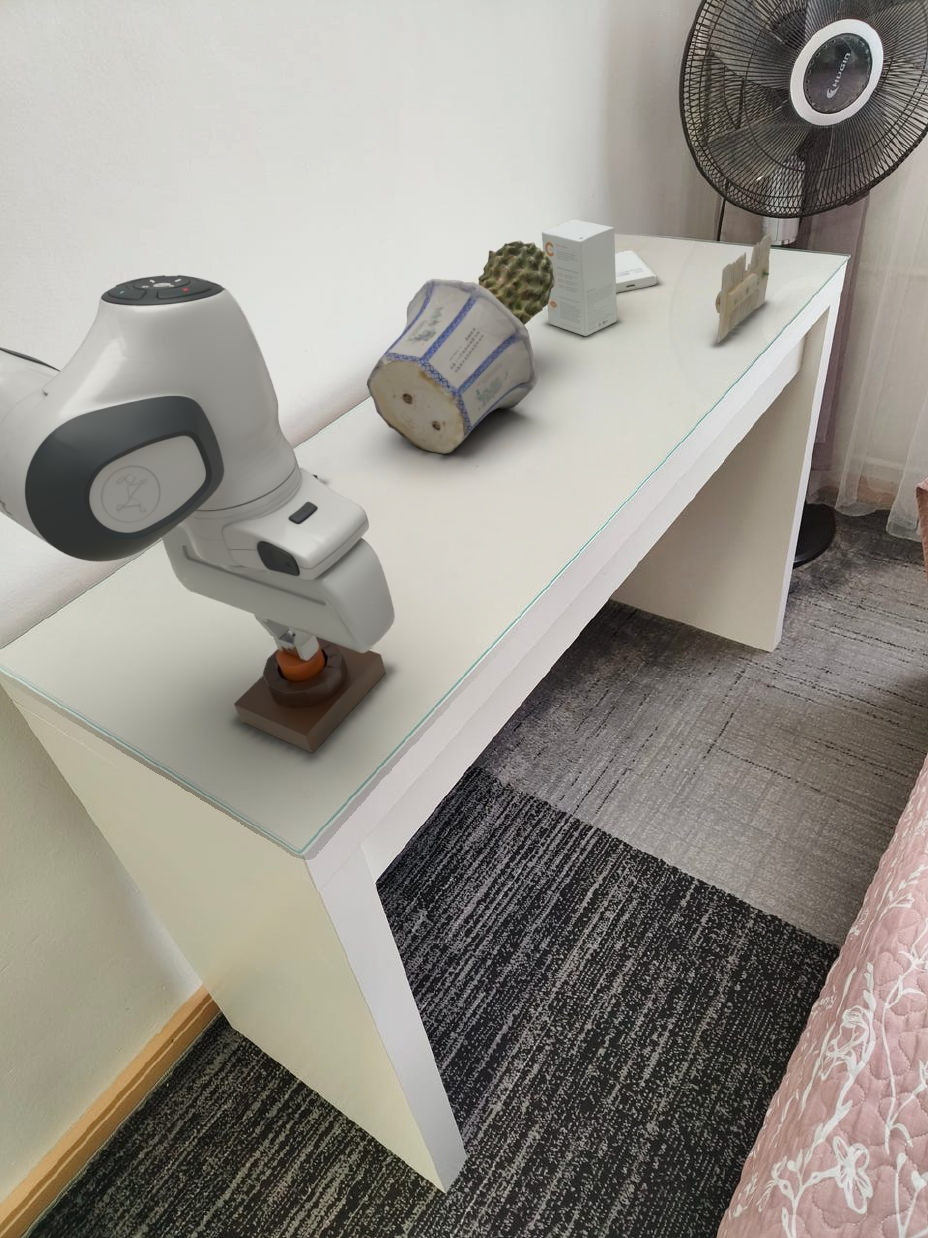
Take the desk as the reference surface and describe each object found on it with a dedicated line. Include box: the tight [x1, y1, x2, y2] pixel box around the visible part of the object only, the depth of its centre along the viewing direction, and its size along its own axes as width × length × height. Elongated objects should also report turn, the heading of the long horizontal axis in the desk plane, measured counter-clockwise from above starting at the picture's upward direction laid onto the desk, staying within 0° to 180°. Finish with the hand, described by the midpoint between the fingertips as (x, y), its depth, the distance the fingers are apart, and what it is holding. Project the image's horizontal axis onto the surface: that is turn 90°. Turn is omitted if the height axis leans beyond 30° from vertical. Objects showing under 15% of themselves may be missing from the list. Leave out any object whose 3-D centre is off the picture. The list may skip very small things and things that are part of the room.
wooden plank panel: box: [714, 233, 772, 344], centre depth 112 cm, size 15×2×10 cm, turn 144°
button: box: [276, 641, 325, 682], centre depth 69 cm, size 4×4×2 cm
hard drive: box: [615, 249, 658, 294], centre depth 133 cm, size 2×8×12 cm
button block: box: [233, 637, 387, 754], centre depth 71 cm, size 10×8×4 cm
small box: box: [541, 218, 618, 337], centre depth 118 cm, size 8×6×13 cm
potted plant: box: [366, 240, 555, 455], centre depth 102 cm, size 18×18×30 cm
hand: (299, 651), depth 69 cm, fingers closed, pressing on button
